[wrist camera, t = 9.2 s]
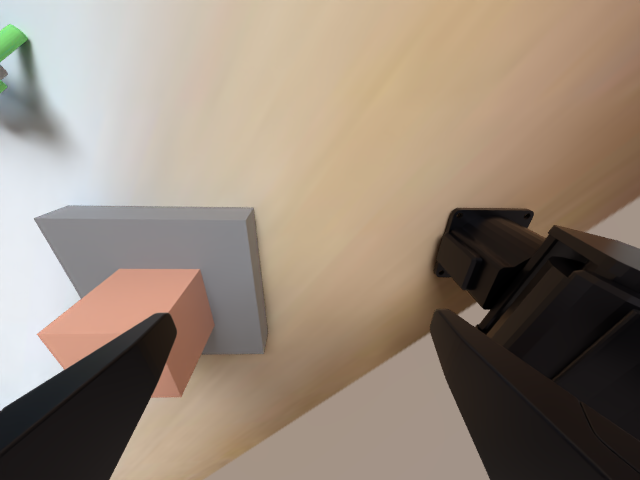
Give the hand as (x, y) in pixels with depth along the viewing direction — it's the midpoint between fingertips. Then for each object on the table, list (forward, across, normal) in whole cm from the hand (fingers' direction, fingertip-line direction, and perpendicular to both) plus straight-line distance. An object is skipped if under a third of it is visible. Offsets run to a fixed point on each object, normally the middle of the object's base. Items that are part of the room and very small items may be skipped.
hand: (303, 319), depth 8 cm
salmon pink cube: (+9, +12, +7) cm, 16 cm away
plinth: (+12, +12, +7) cm, 18 cm away
